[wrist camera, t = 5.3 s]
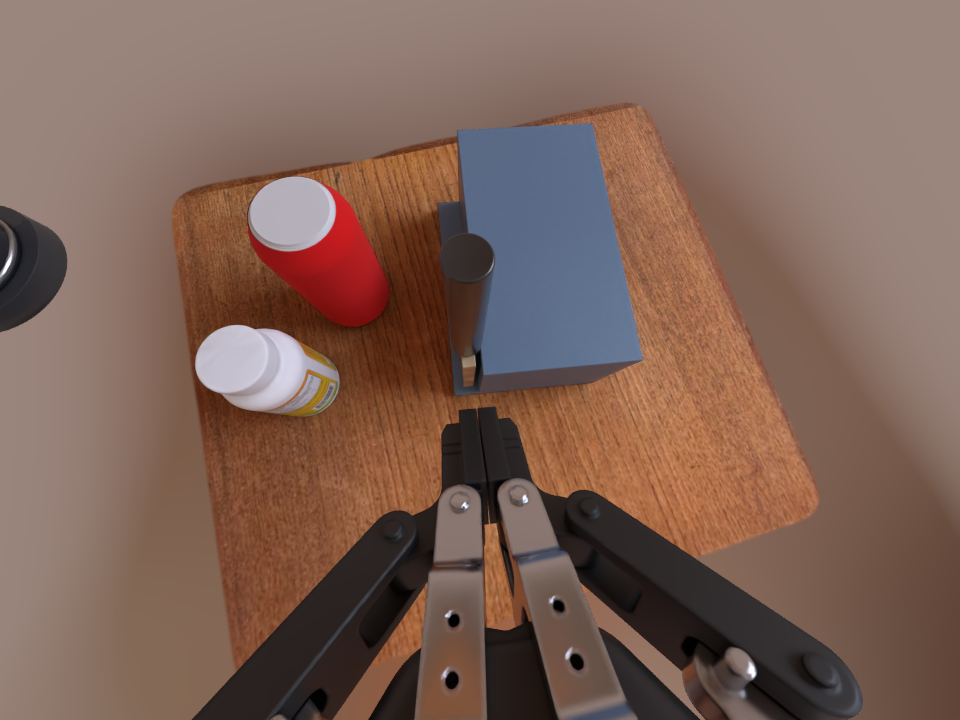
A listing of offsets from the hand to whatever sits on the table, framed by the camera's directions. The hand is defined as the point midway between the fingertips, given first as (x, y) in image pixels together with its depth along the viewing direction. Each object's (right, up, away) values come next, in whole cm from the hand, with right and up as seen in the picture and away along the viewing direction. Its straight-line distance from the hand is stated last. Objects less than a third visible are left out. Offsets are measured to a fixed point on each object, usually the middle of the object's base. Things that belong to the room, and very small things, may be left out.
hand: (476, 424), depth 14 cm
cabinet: (+4, +9, +17) cm, 20 cm away
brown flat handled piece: (-1, +5, +15) cm, 15 cm away
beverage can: (-11, +8, +17) cm, 22 cm away
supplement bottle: (-14, +1, +15) cm, 21 cm away
